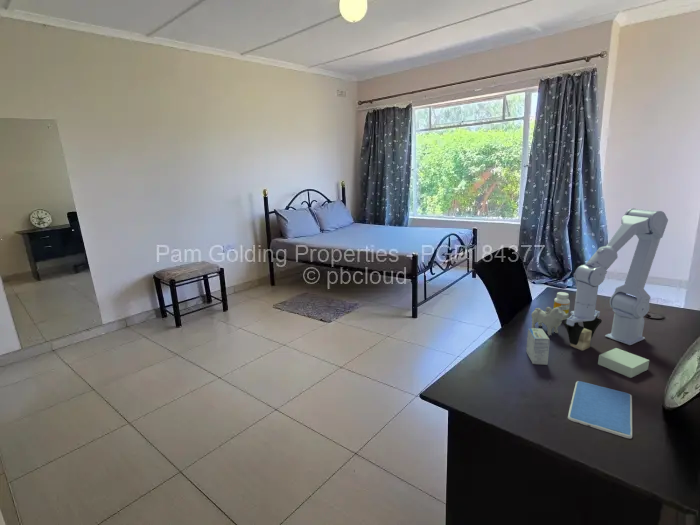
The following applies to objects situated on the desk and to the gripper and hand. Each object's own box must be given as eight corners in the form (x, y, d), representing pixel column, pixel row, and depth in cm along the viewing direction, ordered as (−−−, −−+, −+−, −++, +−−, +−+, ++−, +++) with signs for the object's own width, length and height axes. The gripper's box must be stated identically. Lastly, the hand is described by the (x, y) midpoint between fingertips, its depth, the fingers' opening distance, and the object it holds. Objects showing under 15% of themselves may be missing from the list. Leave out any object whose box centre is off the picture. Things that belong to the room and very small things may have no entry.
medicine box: (547, 365, 114) (550, 339, 112) (531, 364, 115) (534, 338, 113) (540, 353, 121) (543, 328, 119) (525, 352, 122) (527, 327, 120)
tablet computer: (631, 442, 83) (632, 436, 82) (566, 421, 90) (567, 416, 90) (631, 398, 98) (632, 393, 98) (575, 383, 105) (576, 379, 105)
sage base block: (614, 356, 118) (616, 347, 117) (647, 369, 110) (649, 360, 109) (597, 364, 114) (599, 355, 113) (630, 377, 106) (632, 368, 105)
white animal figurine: (560, 340, 130) (563, 311, 127) (527, 327, 141) (530, 300, 138) (569, 336, 132) (573, 308, 129) (537, 324, 143) (539, 297, 141)
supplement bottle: (550, 314, 152) (552, 291, 150) (564, 314, 151) (567, 291, 149) (555, 319, 147) (558, 295, 144) (570, 319, 146) (573, 295, 144)
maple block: (577, 342, 127) (579, 326, 126) (589, 347, 124) (591, 330, 122) (570, 345, 126) (572, 329, 124) (582, 350, 122) (584, 333, 121)
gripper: (586, 294, 128) (581, 331, 131) (559, 302, 121) (555, 341, 124) (608, 300, 121) (603, 339, 125) (581, 309, 115) (575, 350, 118)
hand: (580, 341), depth 124 cm, fingers open, 7 cm apart
